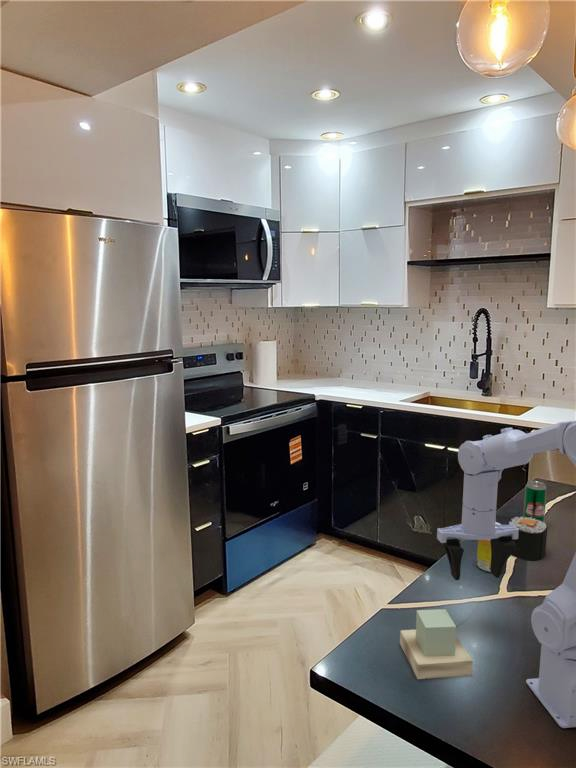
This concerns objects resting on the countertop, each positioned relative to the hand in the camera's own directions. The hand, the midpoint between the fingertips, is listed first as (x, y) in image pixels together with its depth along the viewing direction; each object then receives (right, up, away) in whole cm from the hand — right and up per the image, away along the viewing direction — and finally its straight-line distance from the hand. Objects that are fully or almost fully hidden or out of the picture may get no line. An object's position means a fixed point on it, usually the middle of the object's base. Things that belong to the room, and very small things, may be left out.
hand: (475, 576), depth 98 cm
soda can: (+31, -3, +45) cm, 54 cm away
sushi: (+22, -5, +30) cm, 38 cm away
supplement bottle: (+11, -6, +23) cm, 26 cm away
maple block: (-10, -11, -8) cm, 17 cm away
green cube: (-10, -8, -9) cm, 16 cm away
